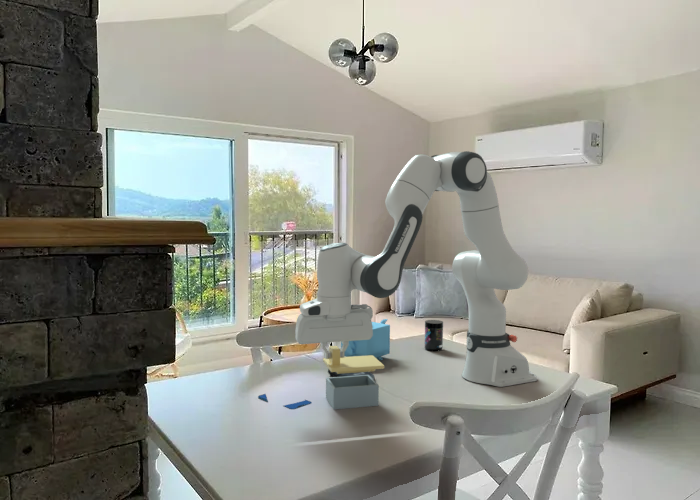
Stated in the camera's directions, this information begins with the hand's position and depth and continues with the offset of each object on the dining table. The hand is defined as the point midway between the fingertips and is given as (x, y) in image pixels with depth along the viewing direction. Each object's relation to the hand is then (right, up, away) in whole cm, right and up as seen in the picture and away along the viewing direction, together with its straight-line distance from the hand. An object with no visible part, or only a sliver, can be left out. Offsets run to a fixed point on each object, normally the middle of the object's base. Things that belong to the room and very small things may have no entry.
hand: (334, 358), depth 140 cm
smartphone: (-14, -13, +4) cm, 19 cm away
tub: (+4, -13, +2) cm, 13 cm away
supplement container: (+35, -9, +59) cm, 69 cm away
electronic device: (+5, -12, +23) cm, 26 cm away
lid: (+5, -2, +1) cm, 5 cm away
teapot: (+10, -10, +46) cm, 48 cm away
